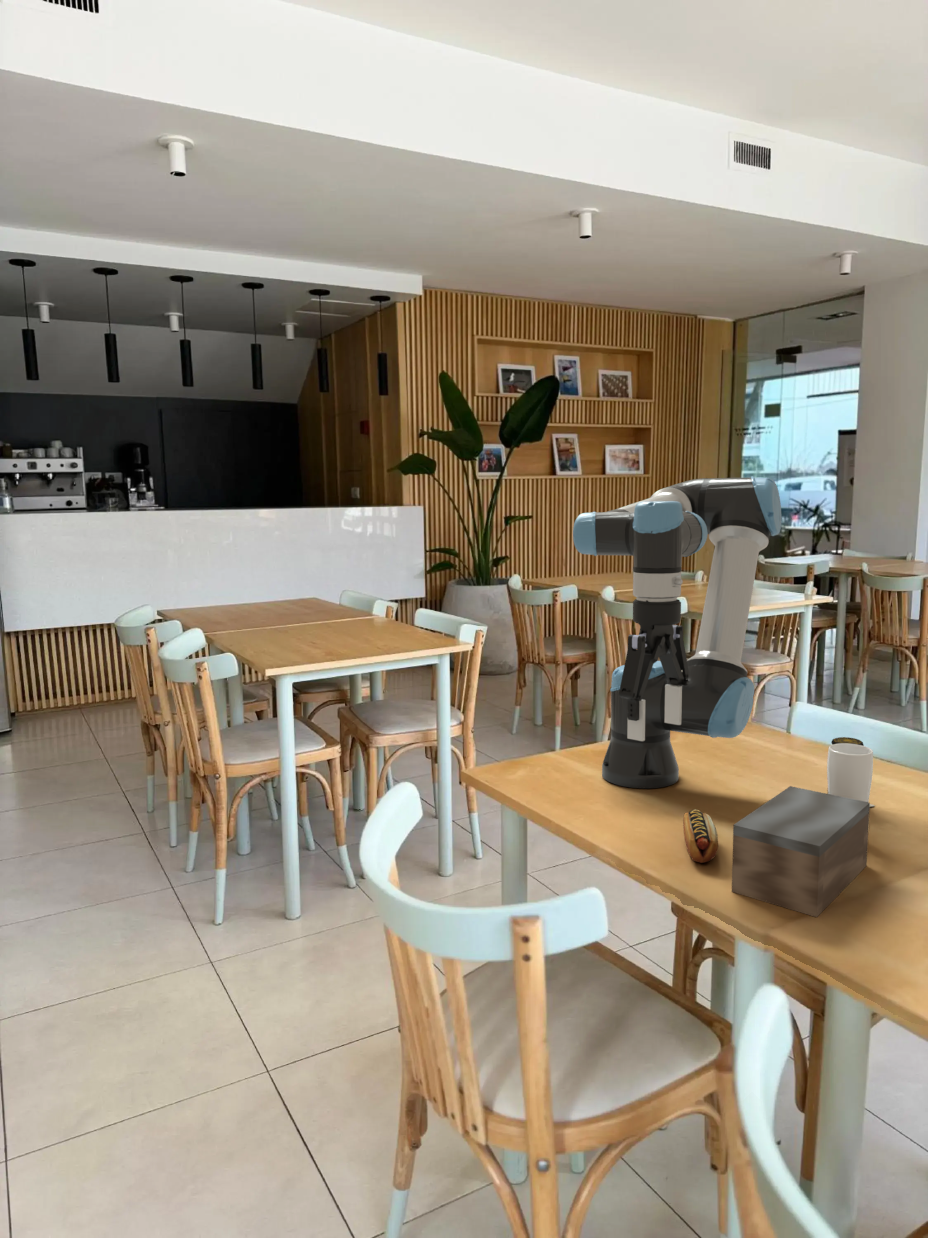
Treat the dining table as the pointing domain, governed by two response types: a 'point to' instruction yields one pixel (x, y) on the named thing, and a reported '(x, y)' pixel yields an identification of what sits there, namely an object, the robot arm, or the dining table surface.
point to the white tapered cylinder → (850, 771)
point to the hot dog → (700, 836)
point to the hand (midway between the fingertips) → (655, 731)
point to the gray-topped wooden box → (800, 849)
